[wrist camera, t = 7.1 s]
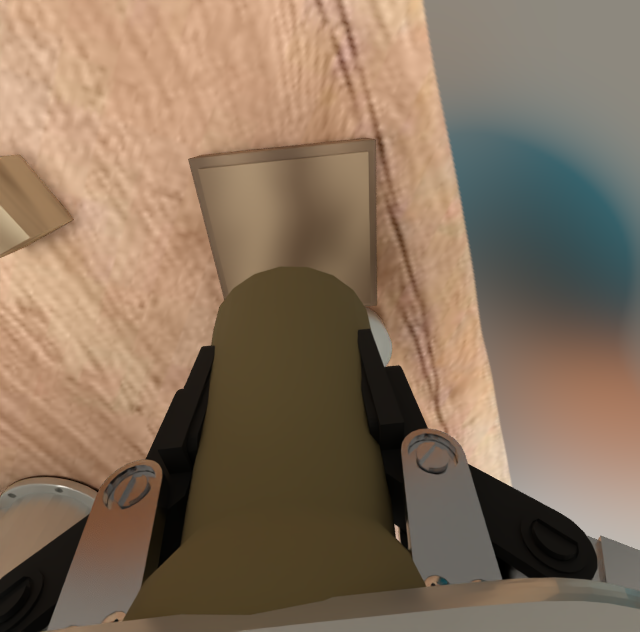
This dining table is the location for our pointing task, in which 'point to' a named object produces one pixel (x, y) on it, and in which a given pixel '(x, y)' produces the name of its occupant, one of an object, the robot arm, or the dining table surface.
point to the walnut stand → (292, 211)
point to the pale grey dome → (380, 336)
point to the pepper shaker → (283, 462)
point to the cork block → (25, 206)
